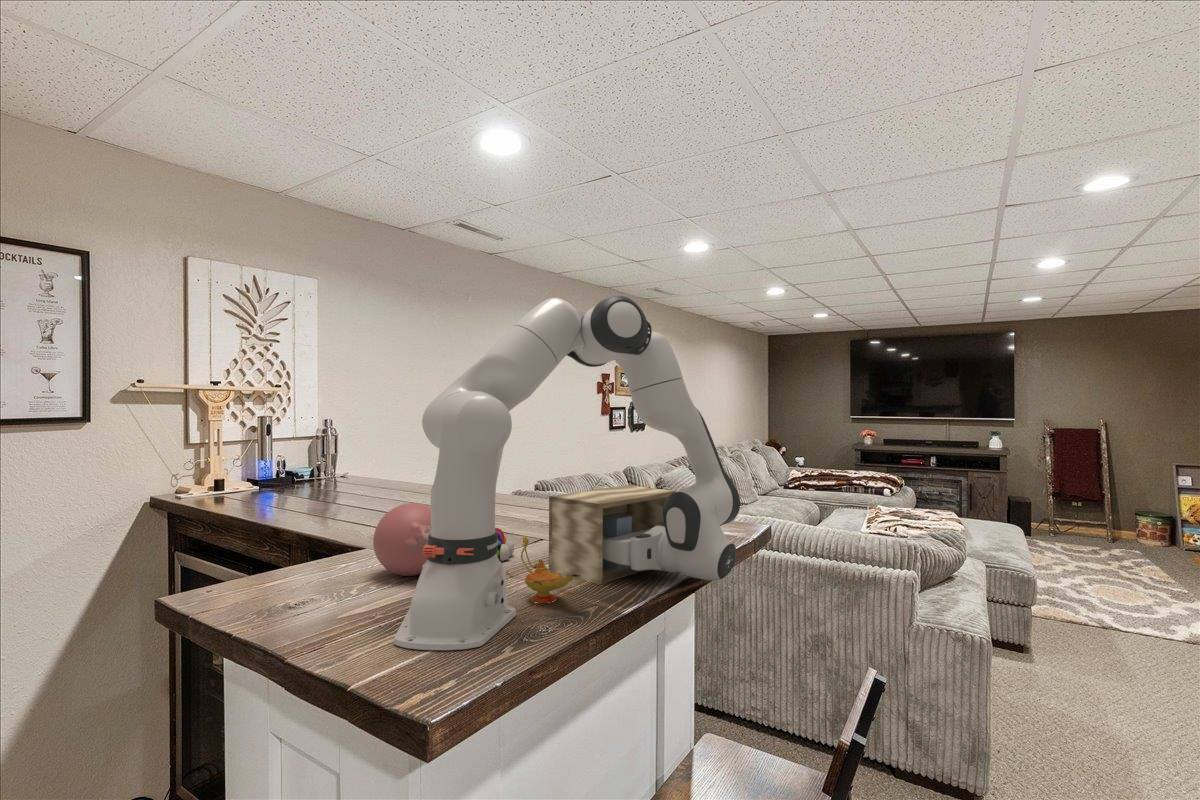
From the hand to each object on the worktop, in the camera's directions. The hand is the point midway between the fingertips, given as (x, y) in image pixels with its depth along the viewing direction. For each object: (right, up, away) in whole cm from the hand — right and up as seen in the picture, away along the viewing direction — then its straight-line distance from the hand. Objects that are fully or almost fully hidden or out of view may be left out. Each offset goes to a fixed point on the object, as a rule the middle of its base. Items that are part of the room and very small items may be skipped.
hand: (613, 537), depth 132 cm
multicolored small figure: (-28, -7, +9) cm, 31 cm away
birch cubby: (+1, -7, -1) cm, 7 cm away
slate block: (+1, -6, -1) cm, 6 cm away
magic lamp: (-13, -7, -23) cm, 27 cm away
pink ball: (-43, -7, -7) cm, 44 cm away
